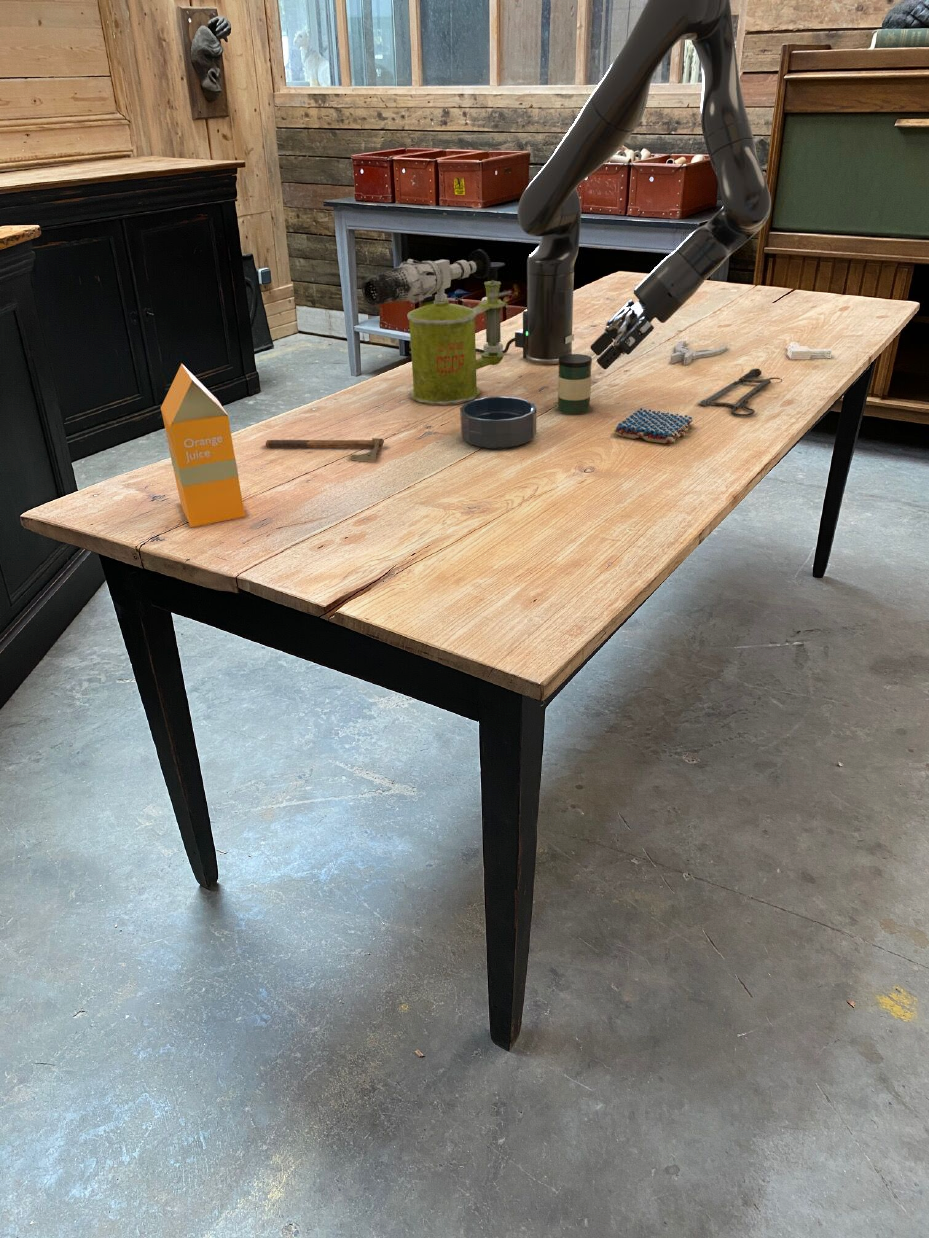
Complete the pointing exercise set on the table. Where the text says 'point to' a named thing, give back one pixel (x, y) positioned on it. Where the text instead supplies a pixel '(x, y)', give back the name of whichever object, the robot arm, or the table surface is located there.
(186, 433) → the orange juice
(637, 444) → the table surface
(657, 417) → the woven mat
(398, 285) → the blowtorch
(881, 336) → the table surface
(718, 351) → the pliers
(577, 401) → the green tin
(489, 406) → the slate bowl
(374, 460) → the tomahawk
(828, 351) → the corner connector
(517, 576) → the table surface
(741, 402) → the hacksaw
